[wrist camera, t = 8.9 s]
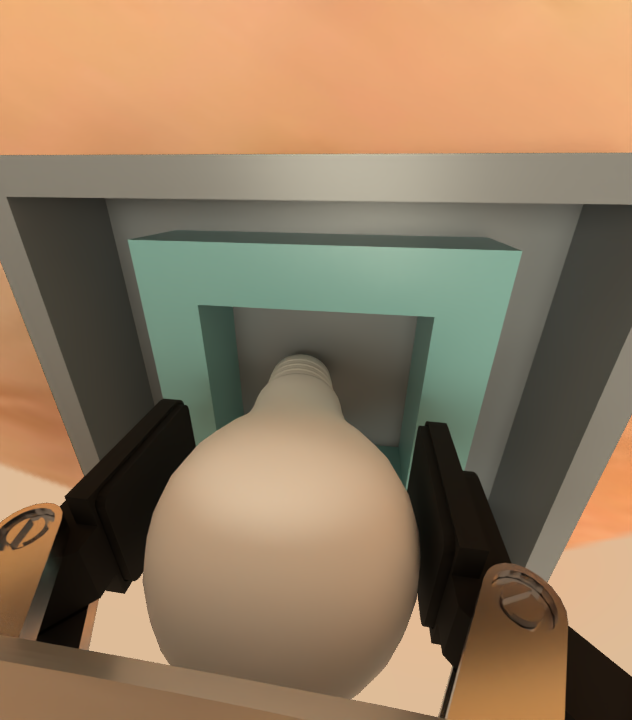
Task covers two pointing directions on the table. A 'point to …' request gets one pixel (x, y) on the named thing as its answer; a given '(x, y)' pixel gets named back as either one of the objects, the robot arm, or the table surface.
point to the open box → (344, 303)
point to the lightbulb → (284, 546)
